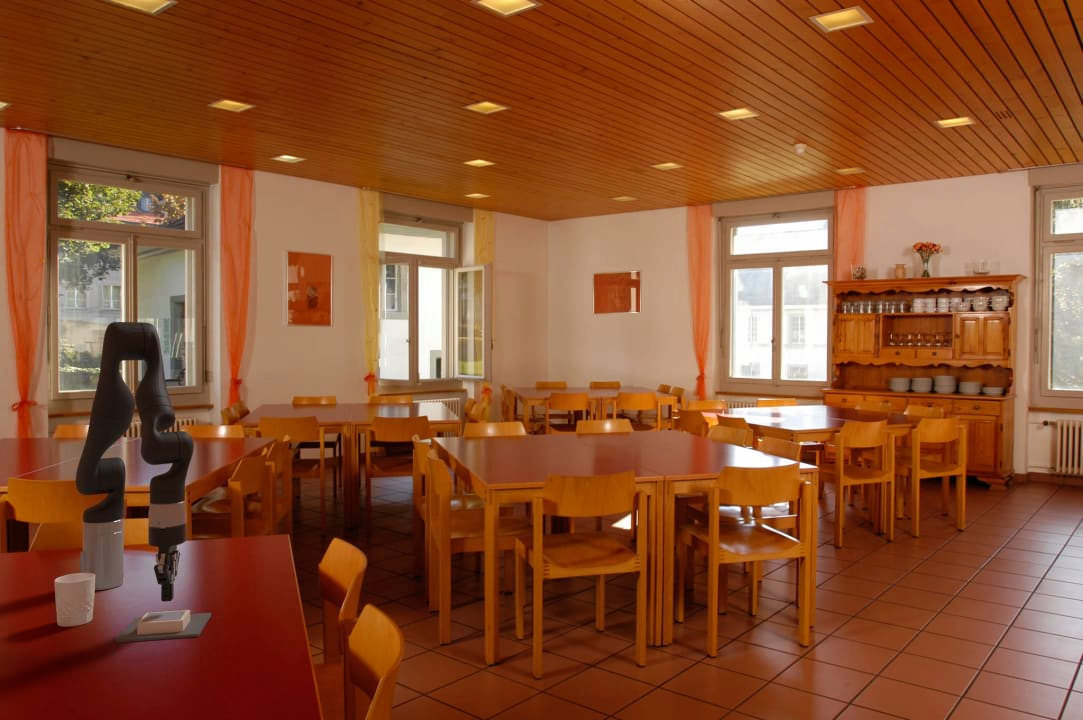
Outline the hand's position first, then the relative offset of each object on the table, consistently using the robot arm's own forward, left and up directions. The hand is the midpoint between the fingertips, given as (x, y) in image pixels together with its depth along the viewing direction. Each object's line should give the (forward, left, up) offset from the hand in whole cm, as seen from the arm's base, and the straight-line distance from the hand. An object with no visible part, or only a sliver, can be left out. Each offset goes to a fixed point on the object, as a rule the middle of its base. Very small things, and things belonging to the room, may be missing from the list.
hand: (167, 600), depth 170 cm
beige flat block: (0, +1, -4) cm, 4 cm away
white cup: (-21, +8, -6) cm, 23 cm away
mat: (0, -1, -6) cm, 6 cm away
